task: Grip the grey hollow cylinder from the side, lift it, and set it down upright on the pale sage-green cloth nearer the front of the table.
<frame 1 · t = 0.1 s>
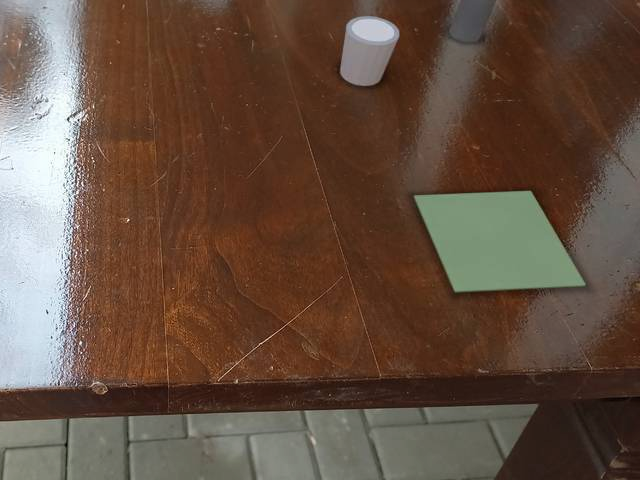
cloth: (493, 240, 76), on the table
grey hollow cylinder: (463, 36, 102), on the table
white short cylinder: (359, 76, 96), on the table
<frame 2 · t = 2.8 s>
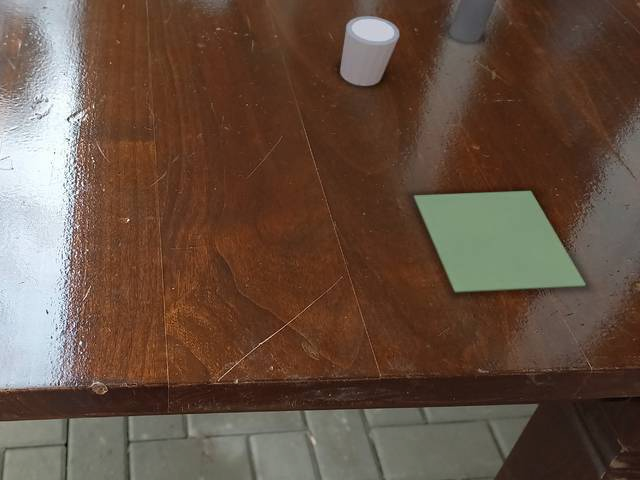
nothing on the table moved.
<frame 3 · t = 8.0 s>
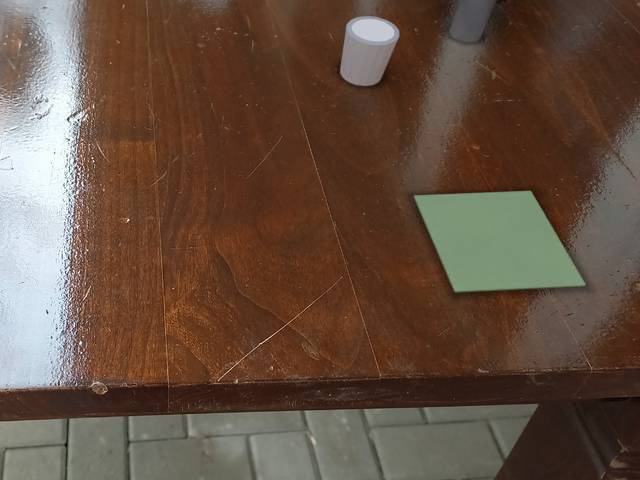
grey hollow cylinder: (463, 36, 102), on the table, touching gripper
everything else where it was.
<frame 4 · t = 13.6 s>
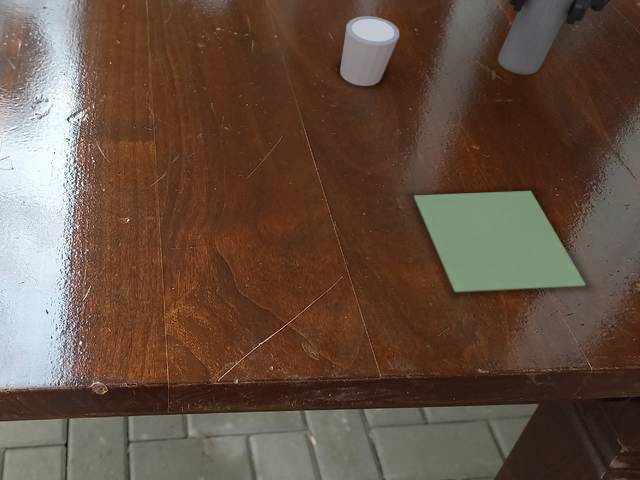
hand: (547, 8, 70), 20 cm above the table, tool horizontal, fingers closed on grey hollow cylinder, 4 cm apart
grey hollow cylinder: (517, 64, 78), point 12 cm above the table, touching gripper
everything else where it was.
when the fingers open (8 cm above the table, at t = 19.2 s): grey hollow cylinder stays where it is, resting on cloth.
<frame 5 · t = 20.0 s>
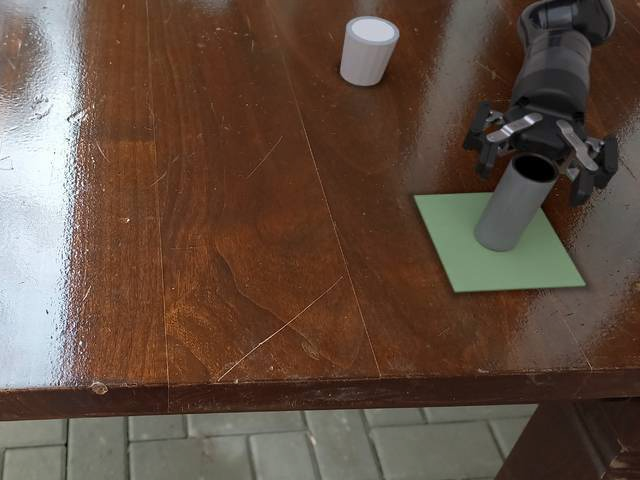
hand: (530, 187, 68), 10 cm above the table, tool horizontal, fingers open, 8 cm apart
grey hollow cylinder: (493, 238, 76), resting on cloth
everything else where it was.
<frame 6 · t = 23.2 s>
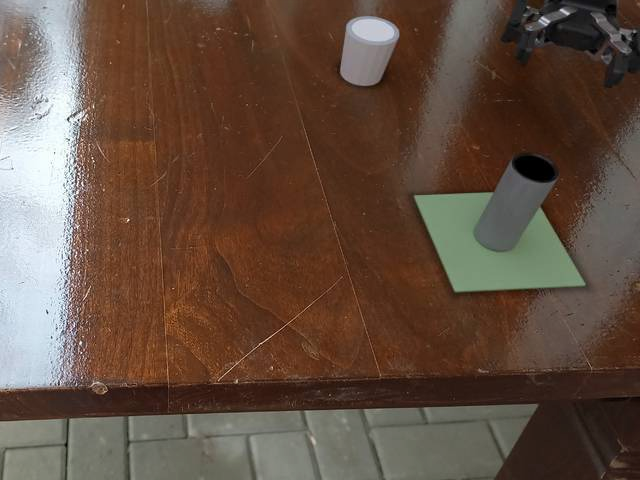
hand: (568, 69, 72), 15 cm above the table, tool horizontal, fingers open, 8 cm apart
nothing on the table moved.
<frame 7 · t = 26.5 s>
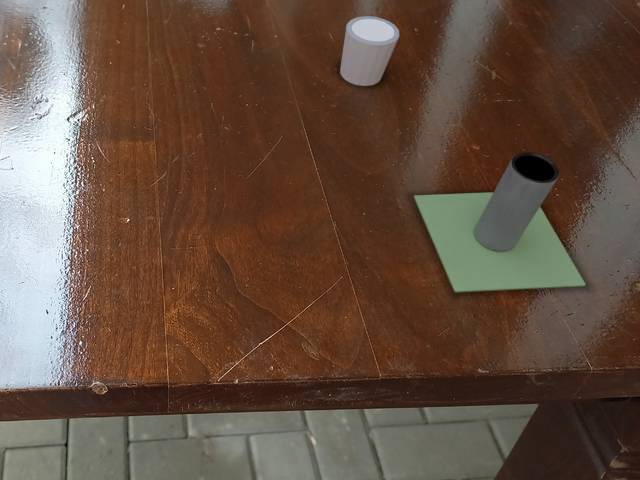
nothing on the table moved.
at the end: grey hollow cylinder inside the target area on the cloth (0.1 cm from its centre), point 0.3 cm above the cloth's base; grey hollow cylinder tilted 0°; the gripper is holding nothing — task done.
